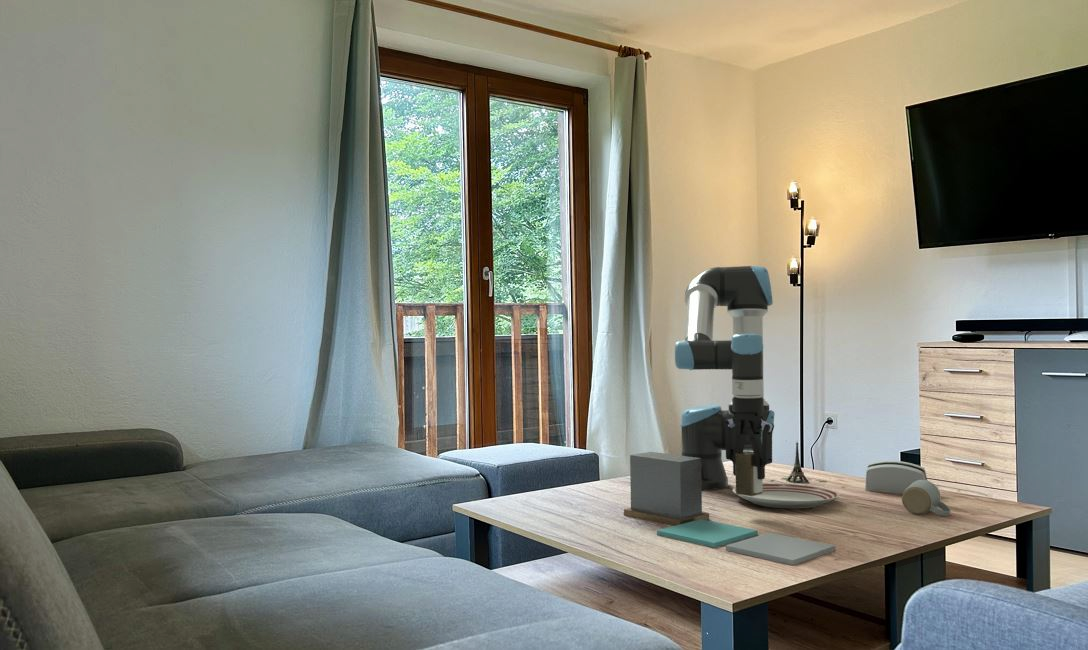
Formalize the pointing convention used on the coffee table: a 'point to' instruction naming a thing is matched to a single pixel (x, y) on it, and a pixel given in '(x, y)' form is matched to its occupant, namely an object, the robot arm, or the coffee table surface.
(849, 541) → the coffee table surface
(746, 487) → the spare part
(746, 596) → the coffee table surface
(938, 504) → the ceramic mug
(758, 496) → the dinner plate
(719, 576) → the coffee table surface
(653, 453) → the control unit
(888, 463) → the napkin holder
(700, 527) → the teal pad
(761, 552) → the grey pad
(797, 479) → the eiffel tower figurine
